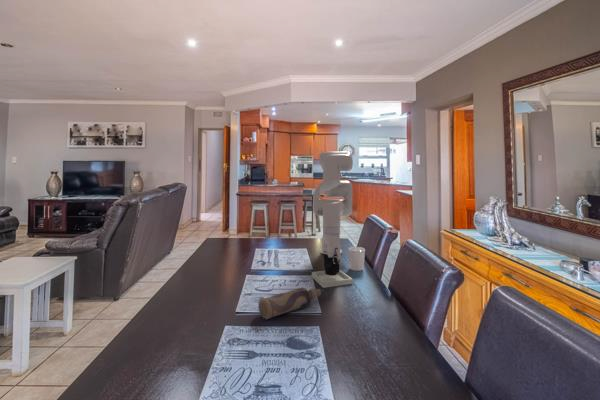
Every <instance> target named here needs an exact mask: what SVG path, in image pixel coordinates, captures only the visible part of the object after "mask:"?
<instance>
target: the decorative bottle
mask: <svg viewBox="0 0 600 400" xmlns="http://www.w3.org/2000/svg"><path fill="white" fill-rule="evenodd" d="M322 294H324V290H323V289H322V288H315V289H307V288H305V287H301V288H296V289H293V290H289V291H286V292H282V293H279V294H275V295H271V296H268V297H265V298H262V299H260V300H258V313H259V315H260V316H261V318H262V317H264V318H265V319H264V318H263V319H264V320H269V319H272V318H275V317H278V316H280V315H283V314H285V313H286V314H288V313H289V312H292V311H296V310H298V309H305V308H306V307H308V306H309V305H310V304H311V302H312V300H314V299H316V298H318V297H320V296H321V295H322Z"/></svg>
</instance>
